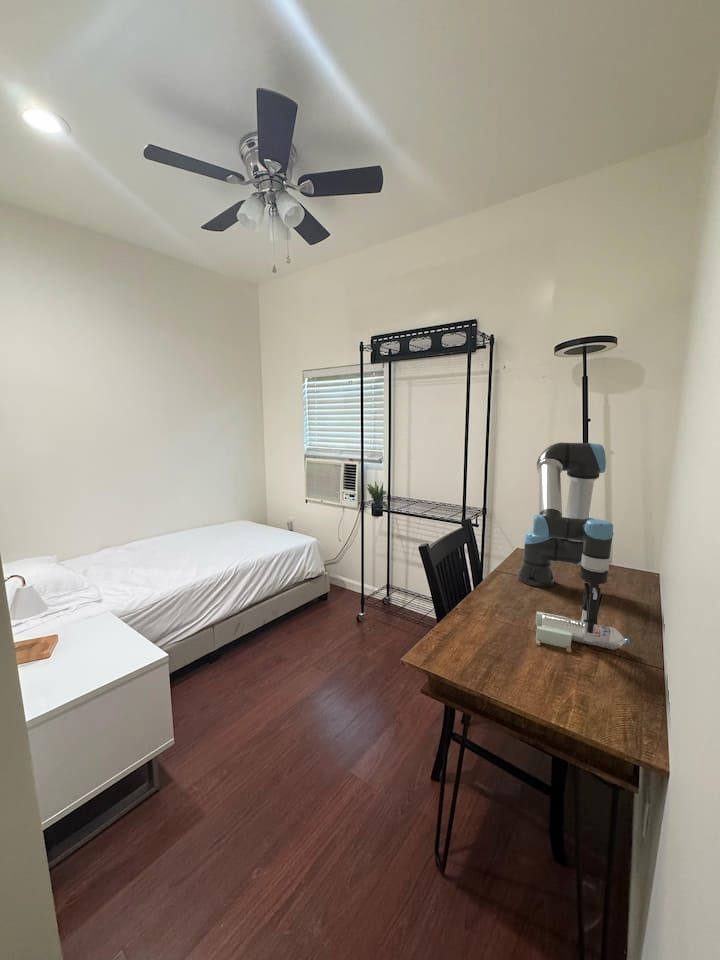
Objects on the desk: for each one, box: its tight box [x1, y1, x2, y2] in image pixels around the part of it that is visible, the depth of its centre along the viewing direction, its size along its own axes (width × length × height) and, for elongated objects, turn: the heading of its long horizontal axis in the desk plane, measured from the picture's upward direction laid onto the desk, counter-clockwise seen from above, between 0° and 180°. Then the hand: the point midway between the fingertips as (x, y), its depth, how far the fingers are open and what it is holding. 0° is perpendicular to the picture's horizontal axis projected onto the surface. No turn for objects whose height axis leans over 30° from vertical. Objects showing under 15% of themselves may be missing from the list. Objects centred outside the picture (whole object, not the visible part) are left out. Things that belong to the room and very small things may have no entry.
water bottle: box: [541, 613, 630, 651], centre depth 126 cm, size 7×7×25 cm
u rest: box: [535, 611, 572, 653], centre depth 129 cm, size 10×18×4 cm, turn 156°
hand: (586, 634), depth 125 cm, fingers closed on water bottle, 7 cm apart
